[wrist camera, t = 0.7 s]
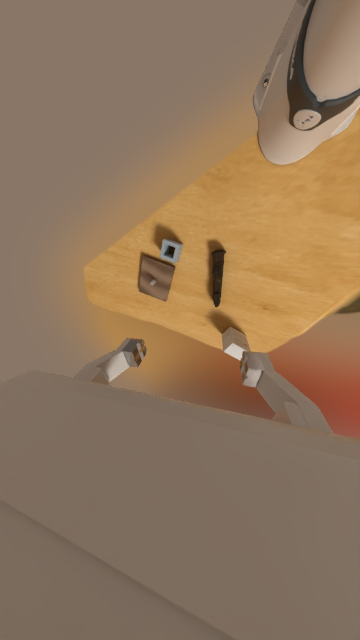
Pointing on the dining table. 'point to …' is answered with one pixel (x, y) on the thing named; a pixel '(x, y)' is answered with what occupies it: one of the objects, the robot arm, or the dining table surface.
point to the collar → (165, 250)
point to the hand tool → (217, 275)
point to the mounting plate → (155, 278)
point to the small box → (234, 343)
